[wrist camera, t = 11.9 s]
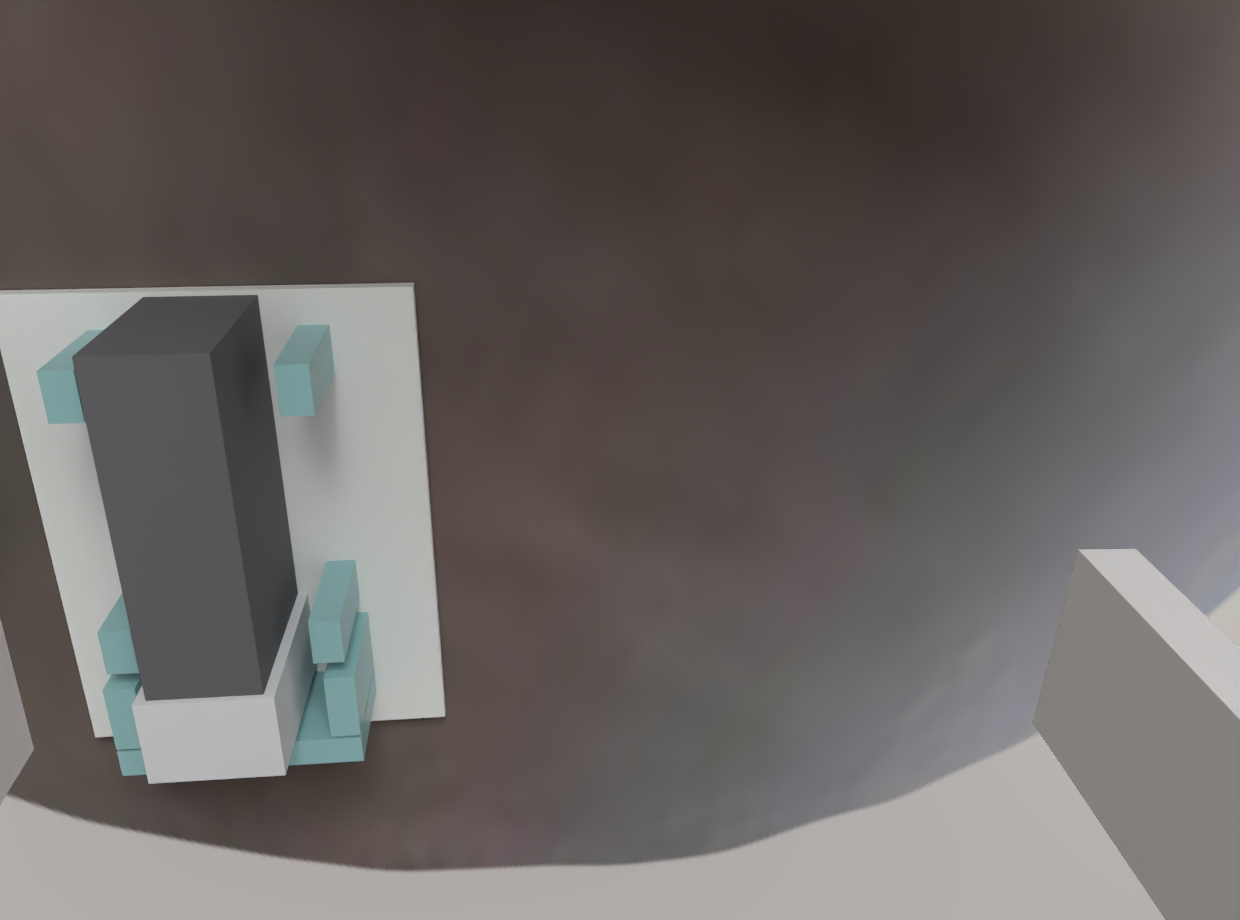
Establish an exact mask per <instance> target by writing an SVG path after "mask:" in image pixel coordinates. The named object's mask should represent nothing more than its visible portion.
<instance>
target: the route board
mask: <svg viewBox="0 0 1240 920" xmlns="http://www.w3.org/2000/svg"><path fill="white" fill-rule="evenodd" d="M222 295H258V301H259V308H260V316H261V323H262V330H263V338H264V345H265V353H266V360H267V367H268V375H269V382H270V390H271V397H272V404H273V412H274V419H275V427H276V434H277V441H278V449H279V456H280V464H281V471H282V478H283V486H284V493H285V501H286V508H287V515H288V523H289V530H290V538H291V545H292V552H293V560H294V567H295V575H296V582H297V589H298V593H308V597H309V605H310V612H311V613H310V617H309V620H308V627H309V635H310V642H311V650H312V657H313V664H316V663H317V664H316V668H315V671H314V675H313V679H312V682H311V686H310V689H309V693H308V697H307V700H306V704H305V708H304V711H303V715H302V718H301V722H300V726H299V729H298V733H297V736H296V740H295V744H294V747H293V751H292V754H291V758H290V762H289V765H305V764H320V763H336V762H352V761H364V757H365V752H366V746H367V740H368V735H369V729H370V724H371V721H381V720H397V719H414V718H431V717H445V713H446V704H445V691H444V678H443V664H442V651H441V637H440V624H439V611H438V597H437V584H436V571H435V557H434V544H433V530H432V517H431V504H430V490H429V477H428V464H427V450H426V437H425V423H424V410H423V397H422V383H421V370H420V357H419V343H418V330H417V316H416V303H415V290H414V283H367V284H315V285H262V286H210V287H157V288H105V289H52V290H0V350H1V354H2V358H3V362H4V366H5V371H6V375H7V379H8V383H9V387H10V391H11V395H12V399H13V403H14V407H15V411H16V415H17V419H18V424H19V428H20V432H21V436H22V440H23V444H24V448H25V452H26V456H27V460H28V464H29V468H30V473H31V477H32V481H33V485H34V489H35V493H36V497H37V501H38V505H39V509H40V513H41V517H42V521H43V526H44V530H45V534H46V538H47V542H48V546H49V550H50V554H51V558H52V562H53V566H54V570H55V575H56V579H57V583H58V587H59V591H60V595H61V599H62V603H63V607H64V611H65V615H66V619H67V623H68V628H69V632H70V636H71V640H72V644H73V648H74V652H75V656H76V660H77V664H78V668H79V672H80V677H81V681H82V685H83V689H84V693H85V697H86V701H87V705H88V709H89V713H90V717H91V721H92V725H93V730H94V734H95V737H111V736H113V738H114V742H115V746H116V750H118V751H117V755H118V759H119V763H120V767H121V771H122V776H130V775H145V774H146V769H145V765H144V760H143V756H142V751H141V747H140V742H139V738H138V733H137V728H136V724H135V719H134V715H133V710H132V704H133V702H134V700H135V698H136V696H137V694H138V692H139V690H140V688H141V686H142V682H141V678H140V673H139V668H138V664H137V659H136V654H135V650H134V645H133V640H132V636H131V631H130V626H129V622H128V617H127V612H126V608H125V603H124V598H123V594H122V589H121V584H120V580H119V575H118V570H117V566H116V561H115V556H114V552H113V547H112V542H111V538H110V533H109V528H108V524H107V519H106V514H105V510H104V505H103V500H102V496H101V491H100V486H99V482H98V477H97V472H96V468H95V463H94V458H93V454H92V449H91V444H90V440H89V435H88V430H87V426H86V421H85V416H84V412H83V407H82V402H81V398H80V393H79V388H78V384H77V379H76V374H75V370H74V365H73V360H72V356H73V355H75V354H76V353H77V352H78V351H79V350H80V349H82V348H83V347H84V346H85V345H86V344H88V343H89V342H90V341H91V340H92V339H94V338H95V337H96V336H97V335H98V334H100V333H101V332H102V331H103V330H104V329H106V328H107V327H108V326H109V325H110V324H111V323H113V322H114V321H115V320H116V319H117V318H119V317H120V316H121V315H122V314H123V313H125V312H126V311H127V310H128V309H129V308H131V307H132V306H133V305H134V304H135V303H137V302H138V301H139V300H140V299H141V298H142V297H166V296H222ZM289 765H288V766H289Z"/></svg>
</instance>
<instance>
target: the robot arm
mask: <svg viewBox="0 0 1240 920" xmlns="http://www.w3.org/2000/svg"><path fill="white" fill-rule="evenodd" d="M1033 724H1034V725H1035V727H1036V728H1037V730H1038V731H1039V733H1040V734H1041V736H1042V737H1043V738H1044V740H1045V742H1046V743H1047V745H1048V746H1049V748H1050V749H1051V751H1052V752H1053V754H1054V755H1055V756H1056V758H1057V759H1058V761H1059V762H1060V764H1061V765H1062V767H1063V768H1064V770H1065V771H1066V773H1067V774H1068V776H1069V777H1070V779H1071V780H1072V782H1073V783H1074V785H1075V786H1076V788H1077V789H1078V791H1079V792H1080V794H1081V795H1082V797H1083V798H1084V799H1085V801H1086V802H1087V804H1088V805H1089V807H1090V808H1091V810H1092V811H1093V813H1094V814H1095V816H1096V817H1097V819H1098V820H1099V822H1100V823H1101V825H1102V826H1103V828H1104V829H1105V831H1106V832H1107V833H1108V835H1109V837H1110V838H1111V839H1112V841H1113V842H1114V844H1115V845H1116V847H1117V848H1118V850H1119V851H1120V853H1121V854H1122V856H1123V857H1124V859H1125V860H1126V862H1127V863H1128V865H1129V866H1130V868H1131V869H1132V870H1133V872H1134V874H1135V875H1136V877H1137V878H1138V880H1139V881H1140V882H1141V884H1142V885H1143V887H1144V888H1145V890H1146V891H1147V893H1148V894H1149V896H1150V897H1151V899H1152V900H1153V902H1154V903H1155V905H1156V906H1157V908H1158V909H1159V911H1160V912H1161V914H1162V915H1163V917H1164V918H1165V919H1166V920H1240V648H1239V647H1238V646H1237V645H1236V644H1235V643H1234V642H1233V641H1232V640H1231V639H1230V638H1228V637H1227V636H1226V635H1225V634H1224V633H1223V632H1222V631H1221V630H1220V629H1219V628H1218V627H1217V626H1216V625H1215V624H1214V623H1213V622H1212V621H1211V620H1210V619H1209V618H1208V617H1206V616H1205V615H1204V614H1203V613H1202V612H1201V611H1200V610H1199V609H1198V608H1197V607H1196V606H1195V605H1194V604H1193V603H1192V602H1191V601H1190V600H1189V599H1188V598H1187V597H1186V596H1184V595H1183V594H1182V593H1181V592H1180V591H1179V590H1178V589H1177V588H1176V587H1175V586H1174V585H1173V584H1172V583H1171V582H1170V581H1169V580H1168V579H1167V578H1166V577H1165V576H1164V575H1162V574H1161V573H1160V572H1159V571H1158V570H1157V569H1156V568H1155V567H1154V566H1153V565H1152V564H1151V563H1150V562H1149V561H1148V560H1147V559H1146V558H1145V557H1144V556H1143V555H1142V554H1140V553H1139V552H1138V551H1137V550H1136V549H1085V550H1078V553H1077V557H1076V561H1075V564H1074V568H1073V572H1072V576H1071V579H1070V583H1069V587H1068V591H1067V594H1066V598H1065V602H1064V606H1063V610H1062V613H1061V617H1060V621H1059V625H1058V628H1057V632H1056V636H1055V640H1054V643H1053V647H1052V651H1051V655H1050V659H1049V662H1048V666H1047V670H1046V674H1045V677H1044V681H1043V685H1042V689H1041V692H1040V696H1039V700H1038V704H1037V708H1036V711H1035V715H1034V719H1033ZM33 750H34V748H33V744H32V740H31V736H30V732H29V728H28V725H27V721H26V717H25V713H24V709H23V705H22V701H21V697H20V693H19V690H18V686H17V682H16V678H15V674H14V670H13V666H12V662H11V658H10V655H9V651H8V647H7V643H6V639H5V635H4V631H3V627H2V623H1V620H0V804H1V802H2V801H3V799H4V797H5V796H6V794H7V793H8V791H9V789H10V788H11V786H12V784H13V783H14V781H15V780H16V778H17V776H18V775H19V773H20V771H21V770H22V768H23V766H24V765H25V763H26V762H27V760H28V758H29V757H30V755H31V753H32V752H33Z"/></svg>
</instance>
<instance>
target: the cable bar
mask: <svg viewBox="0 0 1240 920" xmlns="http://www.w3.org/2000/svg"><path fill="white" fill-rule="evenodd" d="M72 360H73V365H74V370H75V374H76V379H77V384H78V388H79V393H80V398H81V402H82V407H83V412H84V416H85V421H86V426H87V430H88V435H89V440H90V444H91V449H92V454H93V458H94V463H95V468H96V472H97V477H98V482H99V486H100V491H101V496H102V500H103V505H104V510H105V514H106V519H107V524H108V528H109V533H110V538H111V542H112V547H113V552H114V556H115V561H116V566H117V570H118V575H119V580H120V584H121V589H122V594H123V598H124V603H125V608H126V612H127V617H128V622H129V626H130V631H131V636H132V640H133V645H134V650H135V654H136V659H137V664H138V668H139V673H140V678H141V682H142V686H141V688H140V690H139V692H138V694H137V696H136V698H135V700H134V702H133V704H132V710H133V715H134V719H135V724H136V728H137V733H138V738H139V742H140V747H141V751H142V756H143V760H144V765H145V769H146V774H147V778H148V783H149V784H153V783H169V782H185V781H201V780H218V779H234V778H250V777H266V776H282V775H286V773H287V769H288V765H289V762H290V758H291V754H292V751H293V747H294V744H295V740H296V736H297V733H298V729H299V726H300V722H301V718H302V715H303V711H304V708H305V704H306V700H307V697H308V693H309V689H310V686H311V682H312V679H313V675H314V671H315V668H316V664H317V663H316V664H313V657H312V650H311V642H310V635H309V627H308V620H309V617H310V613H311V612H310V605H309V597H308V593H298V589H297V582H296V575H295V567H294V560H293V552H292V545H291V538H290V530H289V523H288V515H287V508H286V501H285V493H284V486H283V478H282V471H281V464H280V456H279V449H278V441H277V434H276V427H275V419H274V412H273V404H272V397H271V390H270V382H269V375H268V367H267V360H266V353H265V345H264V338H263V330H262V323H261V316H260V308H259V301H258V295H222V296H166V297H142V298H141V299H140V300H139V301H138V302H137V303H135V304H134V305H133V306H132V307H131V308H129V309H128V310H127V311H126V312H125V313H123V314H122V315H121V316H120V317H119V318H117V319H116V320H115V321H114V322H113V323H111V324H110V325H109V326H108V327H107V328H106V329H104V330H103V331H102V332H101V333H100V334H98V335H97V336H96V337H95V338H94V339H92V340H91V341H90V342H89V343H88V344H86V345H85V346H84V347H83V348H82V349H80V350H79V351H78V352H77V353H76V354H75V355H73V356H72Z"/></svg>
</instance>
